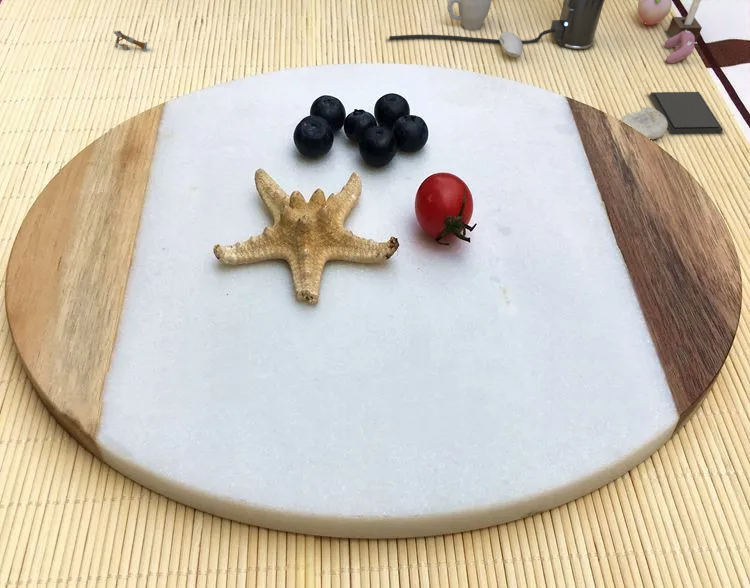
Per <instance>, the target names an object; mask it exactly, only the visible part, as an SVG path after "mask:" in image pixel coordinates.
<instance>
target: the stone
mask: <svg viewBox="0 0 750 588" xmlns="http://www.w3.org/2000/svg"><path fill="white" fill-rule="evenodd" d="M498 40H500V43H499V44H500V45H501V46H502V49H503V51H504V53H505V54H506V55H507V56H508V57H510V58H518V57H521V55H522V54H523V49H524V44H522V41H523V40H521V38H520V37H519V36H518V35H517V34H515V33H513V32H510V31H504V32H502V33H501V34H500V35H499V38H498Z"/></svg>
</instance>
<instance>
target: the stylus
mask: <svg viewBox="0 0 750 588" xmlns="http://www.w3.org/2000/svg"><path fill="white" fill-rule="evenodd" d="M701 1H702V0H692V2H691V4H690V8H689V10H688V13H687V15H686V17H687V18H686V20H685V23H684V25H691V24H692V22H693V19H694V17H695V18H696V14H697V11H698V8H699V6H700V4H701Z"/></svg>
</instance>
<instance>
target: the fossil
mask: <svg viewBox="0 0 750 588" xmlns="http://www.w3.org/2000/svg"><path fill="white" fill-rule="evenodd" d="M621 121H623V122H625V123H626V124H628V125H630V126H631V127H633V128H634V129H636V130H638V131H639V132H641V133H642V134H644V135H645V136H647V137H648V138H650V139H651V140H650V141H652V140H656V139H659V138H661V137H663V136H664V135H665V133H666V132H667V131H668V128H667V126H668V123H667V120H666V118H665V116H664V115H663V114H662V113H660V112H659V111H658V110H657V108H654V107H653V106H649V105H648V106H644V107H642V108H641V110H639V111H637V112H636V111H635V112H631V113H630V112H628V113H626V114H625V115H623V117H622V118H621V120H620V122H621Z"/></svg>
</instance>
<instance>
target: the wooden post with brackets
mask: <svg viewBox="0 0 750 588" xmlns="http://www.w3.org/2000/svg"><path fill="white" fill-rule="evenodd" d="M113 34H114V35H115V36H116V40H115V45H114V48H116V49H117V48H118V47H119V46H120V47H121V49H124V50H126V51H128V50H131V49H130V48H131V47H130V46H129V45H128V44H125V42H123V43H120V42H121V41H122V40H125V41H126V42H127V43H130V44H132V45H136V46H137V47H139V48H141V49H142V51H143V52H146V50H147V46H148V41H145V42H142V41H139V40H136V39H135V38H133V37H131V36H129V35H126V34H124V33H123V32H122V31H121V30H114V31H113Z"/></svg>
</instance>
